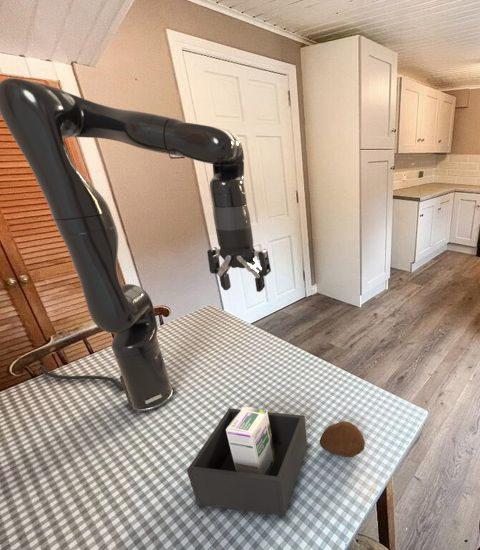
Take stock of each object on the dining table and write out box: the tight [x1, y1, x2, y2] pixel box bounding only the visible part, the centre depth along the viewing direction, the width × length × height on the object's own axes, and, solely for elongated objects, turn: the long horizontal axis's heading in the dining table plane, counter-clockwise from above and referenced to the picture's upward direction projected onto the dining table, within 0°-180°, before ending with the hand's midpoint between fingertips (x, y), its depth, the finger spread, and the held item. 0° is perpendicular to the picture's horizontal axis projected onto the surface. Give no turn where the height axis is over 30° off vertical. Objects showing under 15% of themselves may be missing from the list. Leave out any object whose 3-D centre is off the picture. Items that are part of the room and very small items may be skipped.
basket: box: [186, 407, 308, 517], centre depth 63 cm, size 18×15×10 cm
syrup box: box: [226, 406, 276, 475], centre depth 62 cm, size 6×6×14 cm
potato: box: [319, 420, 366, 459], centre depth 69 cm, size 7×10×7 cm
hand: (243, 289), depth 75 cm, fingers open, 8 cm apart
